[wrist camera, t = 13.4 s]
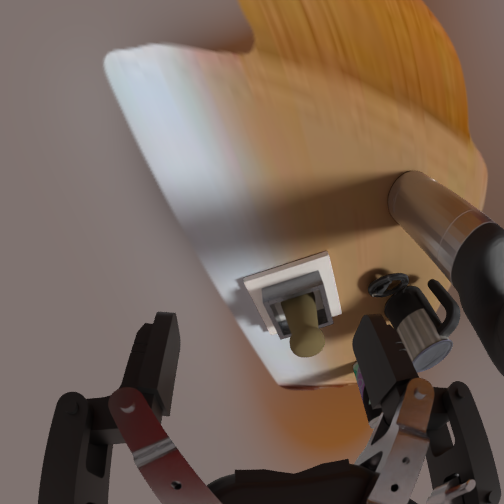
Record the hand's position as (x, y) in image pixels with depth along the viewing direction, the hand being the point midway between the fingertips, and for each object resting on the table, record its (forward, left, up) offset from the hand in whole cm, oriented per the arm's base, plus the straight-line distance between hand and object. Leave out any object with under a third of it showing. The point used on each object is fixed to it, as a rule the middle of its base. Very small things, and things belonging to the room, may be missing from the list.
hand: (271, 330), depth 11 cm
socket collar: (-9, +22, -27) cm, 36 cm away
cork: (-10, +22, -27) cm, 36 cm away
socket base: (-9, +22, -28) cm, 37 cm away
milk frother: (-30, +22, -28) cm, 47 cm away
